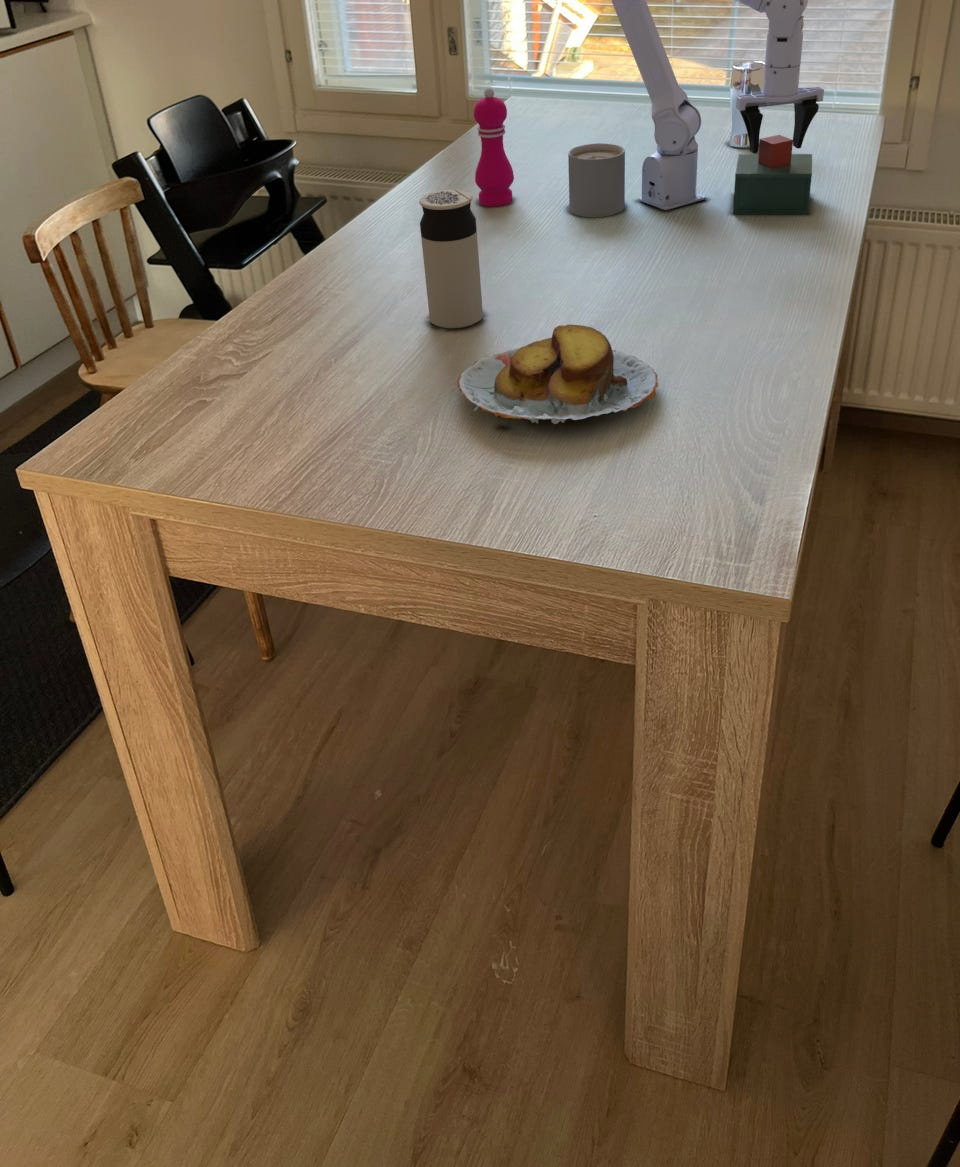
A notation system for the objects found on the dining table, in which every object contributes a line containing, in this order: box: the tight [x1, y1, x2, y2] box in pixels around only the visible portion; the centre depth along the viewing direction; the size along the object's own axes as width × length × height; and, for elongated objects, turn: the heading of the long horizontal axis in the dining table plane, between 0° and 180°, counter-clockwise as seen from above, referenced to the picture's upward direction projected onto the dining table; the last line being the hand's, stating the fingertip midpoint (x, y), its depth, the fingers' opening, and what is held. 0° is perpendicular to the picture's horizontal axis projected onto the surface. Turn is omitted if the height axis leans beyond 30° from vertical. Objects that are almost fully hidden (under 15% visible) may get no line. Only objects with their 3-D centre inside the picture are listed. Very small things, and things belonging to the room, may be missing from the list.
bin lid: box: [734, 153, 813, 179], centre depth 194 cm, size 11×13×1 cm
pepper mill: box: [473, 87, 515, 208], centre depth 205 cm, size 7×7×20 cm
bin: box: [732, 177, 812, 216], centre depth 197 cm, size 11×13×6 cm
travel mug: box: [418, 189, 484, 330], centre depth 162 cm, size 8×8×18 cm
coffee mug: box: [567, 142, 626, 218], centre depth 202 cm, size 13×10×10 cm
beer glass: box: [728, 60, 765, 149], centre depth 225 cm, size 7×7×15 cm
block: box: [758, 134, 793, 168], centre depth 193 cm, size 4×4×4 cm
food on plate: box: [457, 324, 659, 428], centre depth 143 cm, size 26×25×7 cm
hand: (775, 149), depth 193 cm, fingers open, 7 cm apart
